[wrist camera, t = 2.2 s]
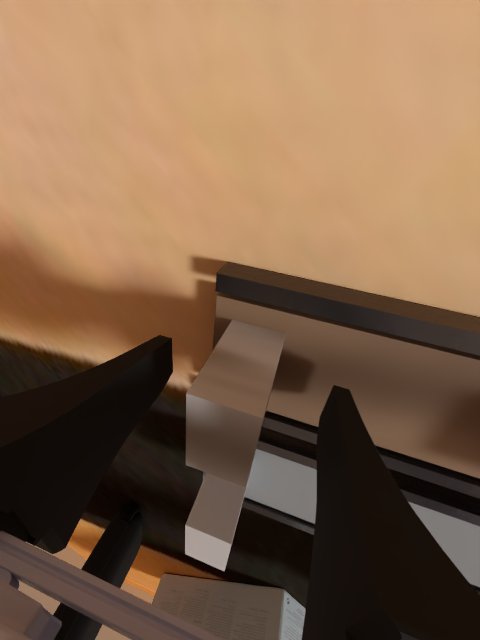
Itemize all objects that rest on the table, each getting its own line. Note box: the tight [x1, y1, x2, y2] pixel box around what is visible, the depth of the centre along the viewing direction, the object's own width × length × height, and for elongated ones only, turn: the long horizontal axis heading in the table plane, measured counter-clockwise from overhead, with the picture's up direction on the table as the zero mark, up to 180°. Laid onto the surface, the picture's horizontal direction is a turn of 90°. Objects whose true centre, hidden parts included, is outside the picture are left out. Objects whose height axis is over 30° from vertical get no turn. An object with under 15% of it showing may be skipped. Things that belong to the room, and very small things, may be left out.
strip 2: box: [185, 449, 480, 587], centre depth 15 cm, size 6×24×6 cm, turn 83°
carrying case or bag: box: [53, 505, 142, 640], centre depth 25 cm, size 11×3×15 cm, turn 167°
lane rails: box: [216, 262, 480, 595], centre depth 14 cm, size 18×24×1 cm
